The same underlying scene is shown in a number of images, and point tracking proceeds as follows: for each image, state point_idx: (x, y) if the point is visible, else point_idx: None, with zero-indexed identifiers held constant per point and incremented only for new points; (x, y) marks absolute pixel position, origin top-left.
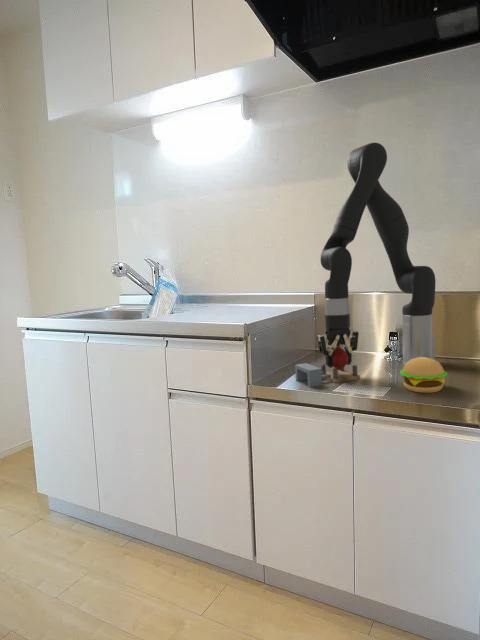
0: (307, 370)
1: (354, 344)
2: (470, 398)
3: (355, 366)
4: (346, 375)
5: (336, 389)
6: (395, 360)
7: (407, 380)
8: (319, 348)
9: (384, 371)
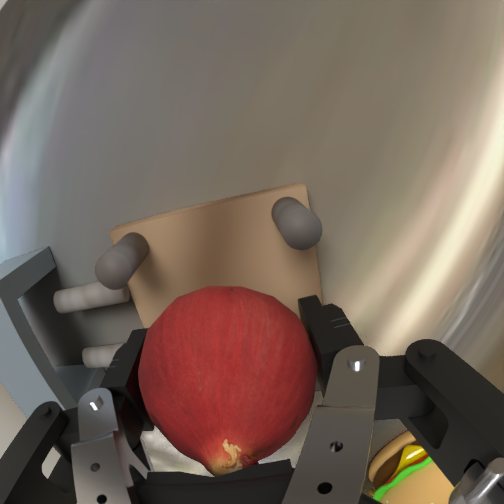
0: (27, 414)
1: (424, 443)
2: None
3: (317, 390)
4: None
5: (160, 433)
6: None
7: (377, 483)
8: (23, 442)
9: (482, 247)
